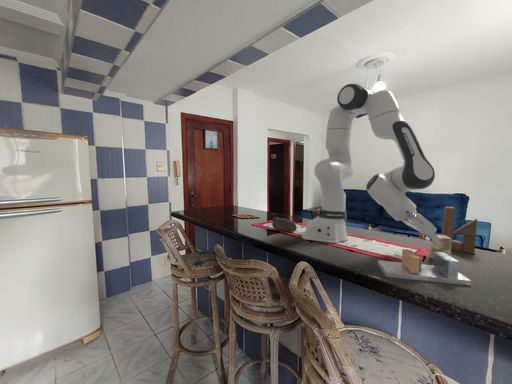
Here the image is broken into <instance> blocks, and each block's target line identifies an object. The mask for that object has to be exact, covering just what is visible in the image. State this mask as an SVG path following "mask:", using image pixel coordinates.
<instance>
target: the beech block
mask: <svg viewBox="0 0 512 384" xmlns="http://www.w3.org/2000/svg"><path fill="white" fill-rule="evenodd" d="M436 235H437V236H438V237H439V238H440V240H438V241H437V242H436V241H434V240H432V239H431V245H430V246H431V248H430V258H431V259H433V252H444V253H446V254H447V255H449V256H451V254H452V250H451V244H452V239H451V238H449V237H447V236H445V235H442V234H436ZM451 257H452V256H451Z"/></svg>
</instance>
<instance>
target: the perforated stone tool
mask: <svg viewBox="0 0 512 384" xmlns="http://www.w3.org/2000/svg"><path fill="white" fill-rule="evenodd" d="M271 226H272V228H273V229H275V230H278V231H282V232H288V233H289V232H290V233H291V232H292V233H293V232H295V231H297V228H298V227H297V224H296V223H295V222H293V221H292V220H291V219H287V218H282V217H277V216H275V217H273V218H272V221H271Z"/></svg>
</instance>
